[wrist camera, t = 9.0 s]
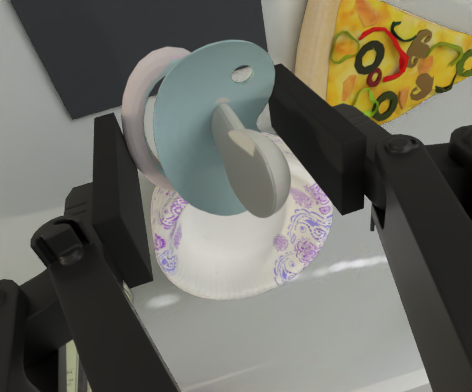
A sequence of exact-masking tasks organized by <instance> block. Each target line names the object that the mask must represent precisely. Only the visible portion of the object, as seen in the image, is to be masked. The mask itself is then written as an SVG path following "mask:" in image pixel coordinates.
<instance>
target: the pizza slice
mask: <svg viewBox="0 0 472 392" xmlns="http://www.w3.org/2000/svg"><path fill="white" fill-rule="evenodd" d="M294 75H295V76H296V77H298V78H299V79H300V80H301V81H302V82H304V83H305V84H306V85H307V86H308V87H309V88H311V89H312V90H313V91H314V92H315V93H317V94H318V95H319V96H320V97H321V98H322V99H324V100H325V101H326V102H327V103H328V104H329V105H331V106H336V105H339V104H342V103H344V104H348V105H351V106H354V107H356V108H357V109H359V110H360V111H361V112H363V113H364V115H367V116H368V117H369V118H370V119H371V120H373V121H374V122H376V123H377V124H378V125H381V124H384V123H386V122H389V121H391V120H393V119H395V118H397V117H399V116H401V115H402V114H404V113H406V112H407V111H409V110H411V109H412V108H414V107H415V106H417V105H418V104H420V103H421V102H423V101H424V100H426V99H428V98H429V97H431V96H433V95H435V94H437V93H443V92H446V91H448V90H451V88H452V86H453V84H455V83H457V82H459V81H461V80H463V79H465V78H467V77H469V76H472V36H470V35H468V34H466V33H461V32H457V31H453V30H451V29H448V28H446V27H443V26H441V25H438V24H436V23H433V22H431V21H428V20H426V19H423V18H421V17H419V16H416V15H414V14H411V13H409V12H407V11H404V10H401V9H399V8H396V7H394V6H391V5H389V4H387V3H385V2H382V1H379V0H308V3H307V7H306V11H305V15H304V19H303V23H302V28H301V32H300V38H299V43H298V49H297V56H296V64H295V73H294Z"/></svg>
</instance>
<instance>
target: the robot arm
mask: <svg viewBox="0 0 472 392" xmlns="http://www.w3.org/2000/svg"><path fill="white" fill-rule="evenodd" d="M274 68H275V79H274V86H273V90H272V94H271V96H270V98H269V101H268V103H269V110H270V117H271V125H272V127H273V129H274V130H275V131H276V133H277V134H278V135H279V136H280V138H281V139H282V140H283V141H284V143H285V144H286V145H287V146H288V148H289V149H290V150H291V151H292V153H293V154H294V155H295V157H296V158H297V159H298V160H299V162H300V163H301V164H302V165H303V167H304V168H305V169H306V170H307V172H308V173H309V174H310V175H311V177H312V178H313V179H314V181H315V182H316V183H317V184H318V186H319V187H320V188H321V189H322V191H323V192H324V193H325V194H326V196H327V197H328V198H329V199H330V201H331V202H332V203H333V205H334V206H335V207H336V208H337V210H338V211H339V212H340V213H341V215H342V216H343V215H345V214H348V213H351V212H354V211H357V210H360V209H363V208H364V194H365V195H366V196H367V197H368V199H369V200H370V201H371V202H372V208H371V224H370V230H371V231H374V225H376V228H377V231H378V234H379V237H380V240H381V243H382V246H383V249H384V251H385V254H386V257H387V260H388V263H389V266H390V269H391V272H392V275H393V278H394V280H395V283H396V286H397V289H398V292H399V295H400V298H401V301H402V304H403V306H404V309H405V312H406V315H407V318H408V321H409V324H410V327H411V330H412V333H413V335H414V338H415V341H416V344H417V347H418V350H419V353H420V356H421V359H422V361H423V364H424V367H425V370H426V373H427V376H428V379H429V382H430V384H431V388H432V390H433V392H472V125H470V126H463V127H460V128H458V129H455V130H454V131H453V132H452V133H451V137H450V142H449V143H443V144H434V145H423V143H422V142H421V141H420V140H419V139H417V138H415V137H412V136H409V135H403V134H397V135H391V134H390V133H389V132H387V131H386V130H385V129H383V128H382V127H381V126H380V125H378V124H377V123H376V122H374V121H373V120H371V119H370V118H369V117H368V116H367V115H364V113H363V112H361V111H360V110H359V109H357V108H356V107H354V106H351V105H348V104H344V103H342V104H339V105H336V106H331V105H329V104H328V103H327V102H326V101H325V100H324V99H322V98H321V97H320V96H319V95H318V94H317V93H315V92H314V91H313V90H312V89H311V88H309V87H308V86H307V85H306V84H305V83H304V82H302V81H301V80H300V79H299V78H298V77H296V76H295V75H294V74H293V73H292V72H291V71H289V70H288V69H287V68H286V67H285V66H284V65H282V64H278V65H274ZM31 248H32V249H33V250H34V252H35V253H36V254H37V256H38V257H39V258H40V259H41V261H42V262H43V263H44V265H45V266H46V267H47V269H46V270H45V271H44V272H42V273H41V274H39V275H38V276H36V277H34V278H32V279H31V280H29V281H27V282H25V283H24V284H22V285H20V286H18V285H17V284H16V283H15V282H14V281H12V280H6V279H3V280H0V392H67V363H66V344H67V343H68V342H70V341H71V340H73V341H74V344H75V347H76V349H77V352H78V355H79V358H80V360H81V363H82V366H83V369H84V371H85V374H86V377H87V380H88V382H89V385H90V388H91V391H92V392H181V390H180V388H179V386H178V385H177V383H176V381H175V379H174V378H173V376H172V374H171V372H170V371H169V369H168V367H167V365H166V363H165V362H164V360H163V358H162V356H161V355H160V353H159V351H158V349H157V348H156V346H155V344H154V342H153V340H152V339H151V337H150V335H149V333H148V332H147V330H146V328H145V326H144V325H143V323H142V321H141V319H140V318H139V316H138V314H137V312H136V310H135V309H134V307H133V305H132V303H131V302H130V300H129V298H128V296H127V295H126V293H125V292H124V286H123V279H124V281H125V283H126V284H127V286H128V288H129V289H130V288H133V287H136V286H139V285H142V284H145V283H148V282H150V281H153V275H152V268H151V261H150V254H149V247H148V240H147V233H146V226H145V219H144V212H143V205H142V198H141V191H140V184H139V178H138V171H137V167H136V164H135V162H134V161H133V159H132V157H131V155H130V153H129V150H128V148H127V145H126V142H125V139H124V136H123V134H122V131H121V129H120V127H119V124H118V122H117V120H116V117H115V115H114V113H110V114H107V115H103V116H100V117H96V118H94V153H93V182H91V183H87V184H84V185H81V186H78V187H74V188H73V189H72V190H71V192H70V193H69V195H68V196H67V198H66V201H65V211H64V216H60V217H57V218H55V219H52V220H50V221H48V222H47V223H45V224H44V225H42V226H41V227H40V228H39V229H38V230H37V231H36V232H35V233H34V235H33V237H32V238H31Z"/></svg>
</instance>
